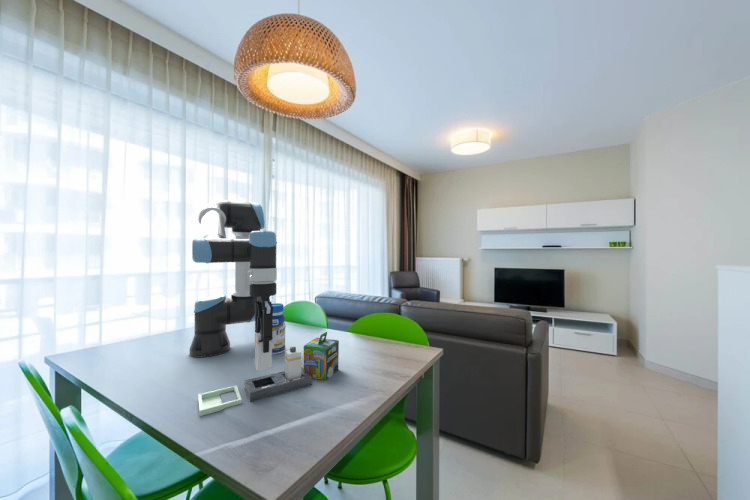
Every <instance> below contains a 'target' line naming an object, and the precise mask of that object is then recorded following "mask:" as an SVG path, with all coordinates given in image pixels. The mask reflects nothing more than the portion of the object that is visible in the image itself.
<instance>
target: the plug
mask: <svg viewBox="0 0 750 500" xmlns="http://www.w3.org/2000/svg"><path fill="white" fill-rule="evenodd" d="M259 340H261V330H260V333H255V332H254V367H255V369H256V371H257V372H260V371H264V370H269V369H272V368H273V354H272V340H270V362H269V363H265V364H260V342H259Z"/></svg>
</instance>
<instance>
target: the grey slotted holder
mask: <svg viewBox="0 0 750 500" xmlns="http://www.w3.org/2000/svg"><path fill="white" fill-rule="evenodd" d="M243 381H244V391H245V394H246V395H247V398H248V400H249V402H255V401H258V400H261V399H266V398H269V397H273V396H275V395H276V396H277V395H281V394H283V393H287V392H291V391H294V390H298V389H302V388H305V387H308V386H312V383H313V382H312V381H313V378H312V376H311V375H310V374H309V373H308V372H307V371H306V370H305V369H304V366H301V377H298V378H294V379H290V380H286V378H285V370H283V371H279V372H274V373H270V374H266V375H265V374H264V375H262V376H258V377H253V378H249V379H246V380H243Z"/></svg>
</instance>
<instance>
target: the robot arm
mask: <svg viewBox="0 0 750 500" xmlns="http://www.w3.org/2000/svg"><path fill="white" fill-rule="evenodd" d="M197 219H198V220H197V221H198V223H199V225H200V238H199V237H196V238H193V239H192V245H191V246H192V247H191V248H192V249H191V252H192V253H191V254H192V255H191V257H192V260H193V262H194V263H197V264H198V263H200V264H203V263H204V264H213V263H214V264H217V263H235V264H234V265H235V272H234V274H235V275H234V276H235V278H234V280H235V281H234V283H235V284H234V290H233V291H232V292H231V297H227V296H226V294H216V295H210V296H206V297H202V298H199V299H197V300H196V301H195V302H194V310H193V313H194V336H193V338H192V342H191V343H190V347H189V356H190V355H191V356H190V357H193V356H194V357H195V358H207V357H214V356H218V355H221V354H224V353H226V352H228V351H229V350H231V341H230V339H229V336H228V334H227V331H226V329H227V328H226V327H227V326H226V325H234V324H235V325H236V324H244V323H251V322H254V323H255V324H254V334H255V333H260V330H261V340H259V342H260V364H265V363H269V362H270V340H272V338H273V337H272V324H273V306H272V304H273V303H272V301H271V298H270V297H272V296H275V295H277V283H276V281H277V279H278V277H277V275H278V274H277V244H278V242H277V235H276V232H275V231H271V230H263V229H265V225H266V224H265V215H264V209H263V207H262V205H261V204H260V203H258V202H253V201H241V200H239V201H238V200H226V199H222V200H221V199H219V200H215V201H212V202H209V203H207V204H206V205H204V206H203V207H202V208H201V209H200V211H199V213H198V218H197ZM225 228H226V229H231V233H232V234H233V236H235V238H227V236H226V229H225Z"/></svg>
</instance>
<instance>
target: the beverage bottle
mask: <svg viewBox="0 0 750 500" xmlns="http://www.w3.org/2000/svg"><path fill="white" fill-rule="evenodd" d="M272 306H273V324H272V337H273V338H272V355H278V354H282V353H285V351H286V316H285V315H284V314H283V313H284V309H285V307H284V306H285V305H284V303H279V302H275V303H272Z"/></svg>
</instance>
